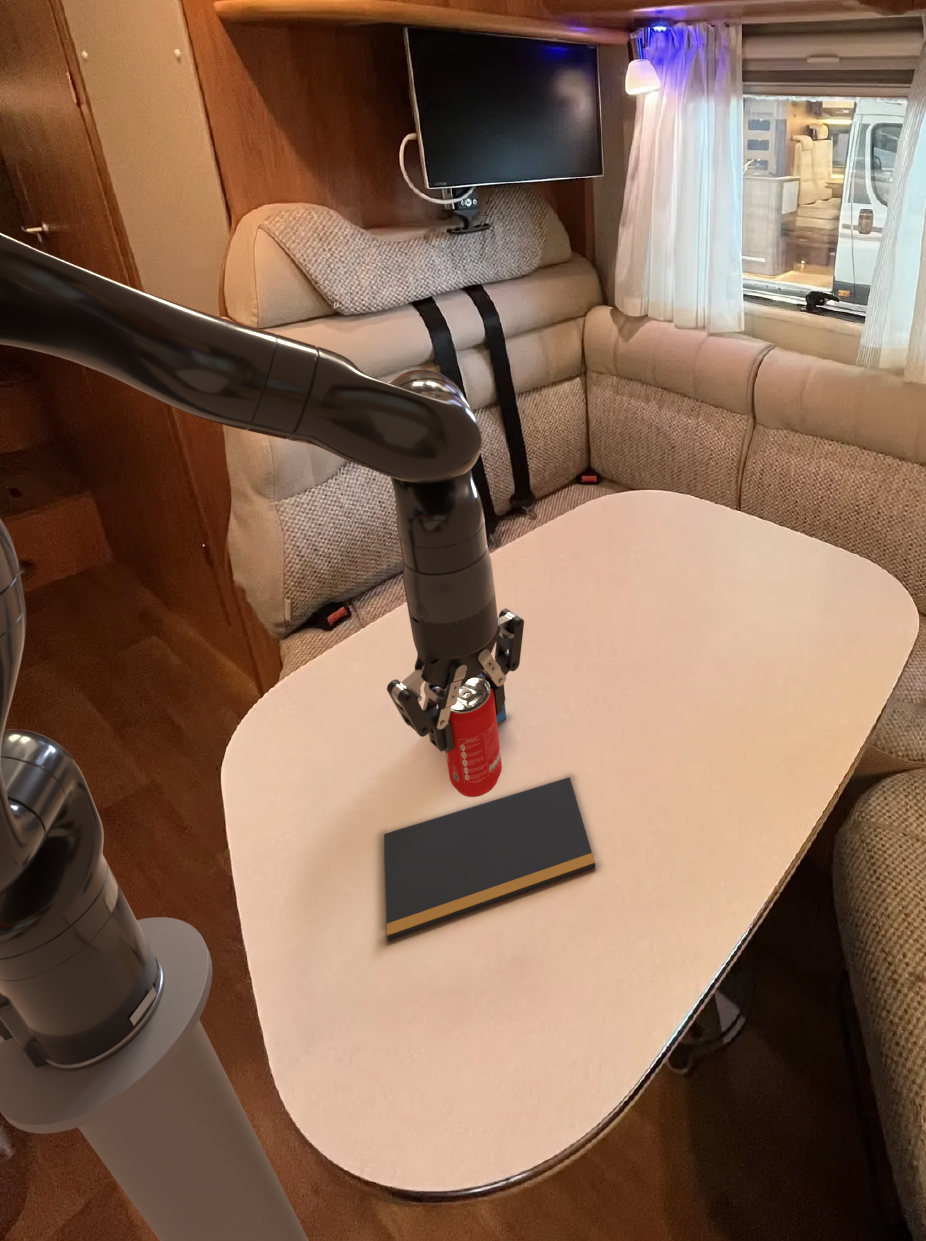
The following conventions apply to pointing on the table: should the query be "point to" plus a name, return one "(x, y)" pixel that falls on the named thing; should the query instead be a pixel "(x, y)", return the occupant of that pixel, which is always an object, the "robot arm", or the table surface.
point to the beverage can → (474, 740)
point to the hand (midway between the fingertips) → (469, 727)
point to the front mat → (483, 856)
